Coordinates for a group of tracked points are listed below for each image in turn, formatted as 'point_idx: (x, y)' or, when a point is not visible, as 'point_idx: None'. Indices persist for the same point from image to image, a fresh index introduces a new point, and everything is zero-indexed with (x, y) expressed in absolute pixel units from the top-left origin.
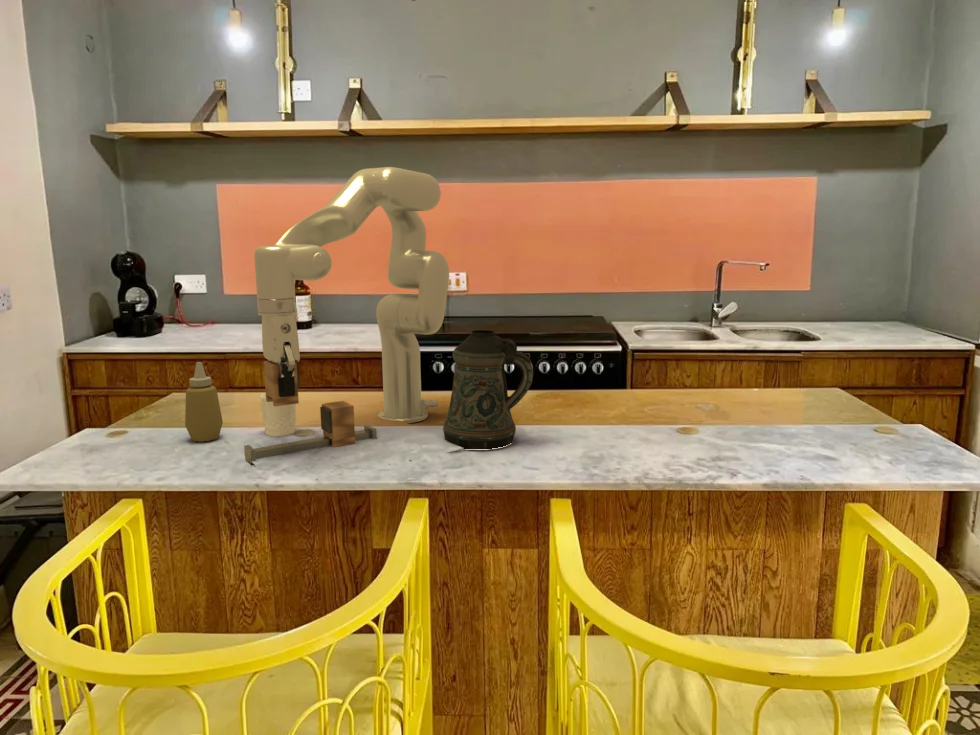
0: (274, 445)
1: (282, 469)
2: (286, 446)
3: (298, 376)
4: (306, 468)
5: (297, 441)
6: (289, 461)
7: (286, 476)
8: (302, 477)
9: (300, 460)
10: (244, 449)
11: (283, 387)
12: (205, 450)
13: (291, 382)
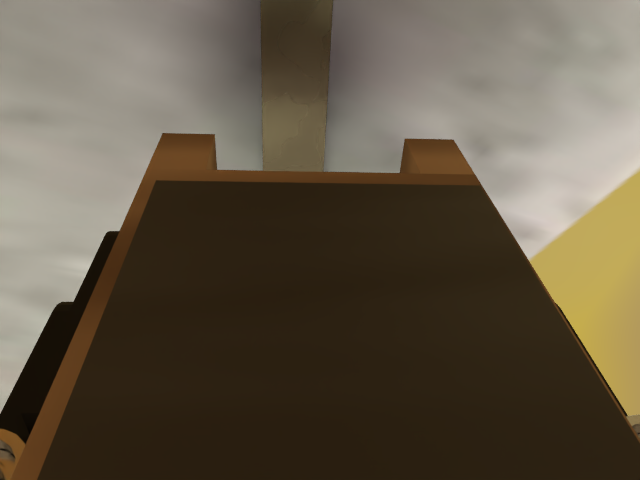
0: (268, 141)
1: (470, 150)
2: (326, 95)
3: (544, 306)
4: (544, 58)
5: (269, 3)
6: (385, 85)
7: (564, 166)
8: (632, 119)
9: (409, 33)
10: None
11: None
12: (7, 310)
13: (605, 382)
